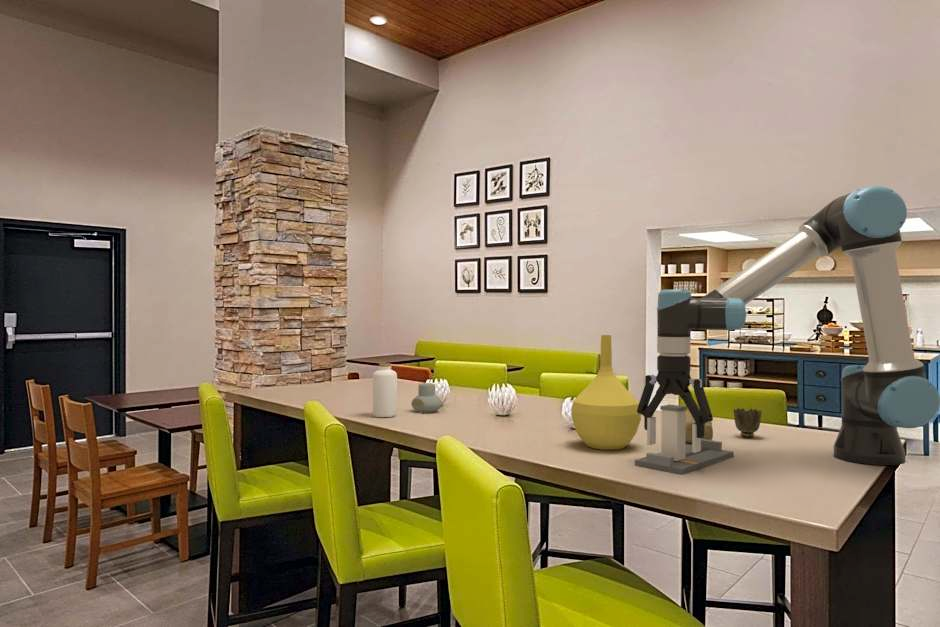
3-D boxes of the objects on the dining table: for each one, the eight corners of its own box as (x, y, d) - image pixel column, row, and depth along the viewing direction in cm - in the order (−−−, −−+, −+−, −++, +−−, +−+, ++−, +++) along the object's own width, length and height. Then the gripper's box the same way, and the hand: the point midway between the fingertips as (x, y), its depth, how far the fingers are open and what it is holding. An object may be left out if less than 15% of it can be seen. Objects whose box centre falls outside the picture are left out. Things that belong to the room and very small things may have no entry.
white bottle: (395, 418, 217) (395, 364, 217) (370, 418, 218) (370, 364, 217) (398, 414, 226) (398, 362, 226) (374, 414, 226) (374, 362, 226)
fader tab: (669, 455, 156) (669, 404, 156) (686, 458, 153) (686, 406, 153) (660, 458, 153) (660, 406, 153) (677, 461, 150) (677, 408, 150)
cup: (733, 438, 184) (733, 410, 184) (733, 434, 191) (733, 407, 191) (762, 440, 182) (762, 412, 181) (760, 436, 188) (761, 408, 188)
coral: (727, 421, 174) (693, 405, 174) (710, 454, 175) (677, 439, 174) (714, 412, 183) (682, 398, 183) (699, 444, 184) (667, 430, 184)
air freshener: (408, 411, 233) (408, 383, 233) (426, 409, 239) (426, 381, 239) (427, 415, 225) (427, 386, 225) (445, 412, 231) (445, 384, 231)
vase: (557, 446, 173) (558, 335, 173) (594, 436, 187) (595, 333, 187) (618, 457, 161) (619, 337, 161) (653, 446, 174) (653, 335, 174)
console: (688, 448, 170) (688, 436, 170) (733, 456, 162) (733, 443, 162) (634, 465, 152) (634, 451, 152) (682, 474, 144) (682, 460, 144)
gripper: (729, 356, 147) (728, 453, 147) (638, 351, 164) (638, 438, 164) (714, 358, 142) (713, 458, 142) (622, 353, 159) (621, 442, 159)
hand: (673, 447), depth 153 cm, fingers open, 11 cm apart
